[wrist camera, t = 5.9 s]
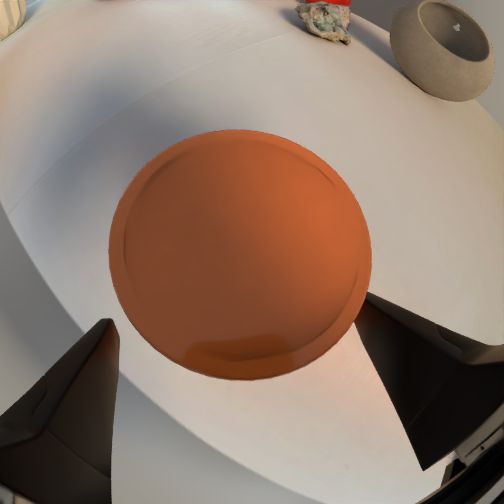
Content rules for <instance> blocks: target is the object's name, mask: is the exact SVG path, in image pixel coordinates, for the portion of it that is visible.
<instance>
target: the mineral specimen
mask: <svg viewBox="0 0 504 504" xmlns="http://www.w3.org/2000/svg"><path fill="white" fill-rule="evenodd" d="M297 5H298V7H296V10H297V11H298V13H299V14H298V17H300V18H301V20H302V21H303V22H304V23H305V25H306V27H307V28H308V30H309V31H310V32H311V33H313V34H316V35H318V36H320V37H322V38H327V39H329V40H331V41H334V42H336V41H339V40H343V41H344V43H345V44H346V45H348V44H350V38H351V34H350V33H349V32H348V26H349V24H350V19H349V17H350V13H351V12H350V10H349V7H348V6H343V5H334V4H330V3H327V2H323V1H318V2H315V3H305V4H297Z"/></svg>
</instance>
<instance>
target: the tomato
mask: <svg viewBox="0 0 504 504" xmlns="http://www.w3.org/2000/svg"><path fill="white" fill-rule="evenodd" d="M306 1H307V2H308V3H315V2H318V1H323V2H327V3H330V4H334V5H343V6H348V7H349V5H350V3H351V0H306Z"/></svg>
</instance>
